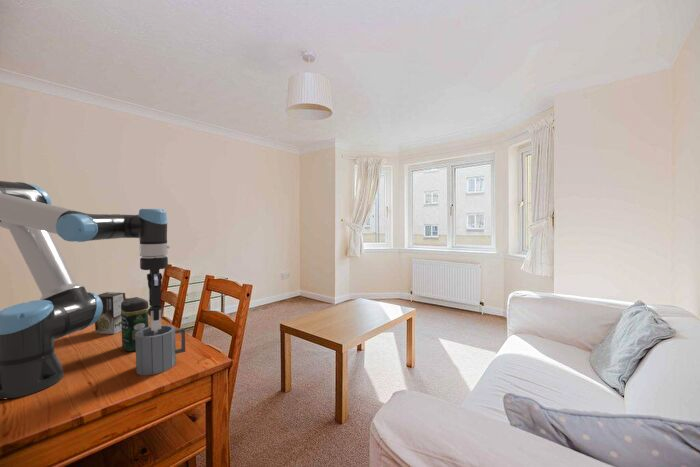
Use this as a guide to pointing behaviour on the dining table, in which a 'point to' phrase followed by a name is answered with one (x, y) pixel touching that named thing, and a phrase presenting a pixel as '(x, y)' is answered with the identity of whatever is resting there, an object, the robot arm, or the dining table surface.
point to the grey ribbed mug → (157, 349)
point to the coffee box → (110, 313)
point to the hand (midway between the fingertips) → (155, 327)
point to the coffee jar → (133, 320)
